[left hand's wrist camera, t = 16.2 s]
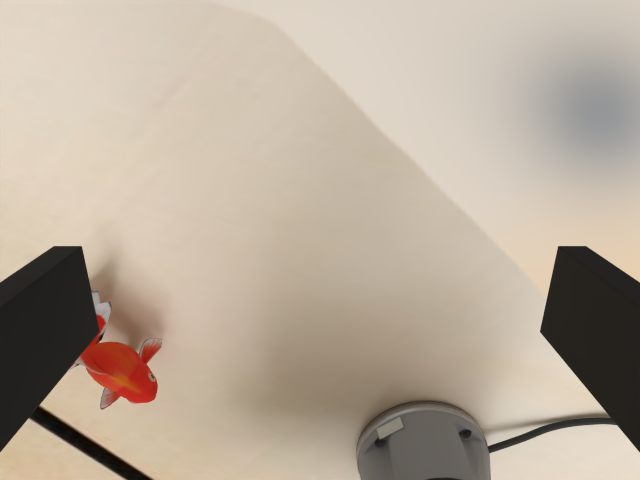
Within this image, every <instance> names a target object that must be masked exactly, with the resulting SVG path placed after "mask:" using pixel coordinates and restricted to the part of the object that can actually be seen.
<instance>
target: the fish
mask: <svg viewBox="0 0 640 480" xmlns="http://www.w3.org/2000/svg"><path fill="white" fill-rule="evenodd" d="M91 292H92V297H93V302H94V306H95V311H96V316H97V320H98V325H99V330H100V332H99V334H98V335H97V336H96V337H95V338H94V340H93V341H92V342H91V343H90V344H89V346H88V347H87V348H86V349H85V350H84V352H83V353H82V354H81V355H80V357H79V358H78V359H77V360H76V361H75V363H74V364H73V365H72V366H71V367H70V369H69V370H71V369H72V368H74V367H76V366H78V365H79V364H80V365H83V366H85V367H86V369H87V371H88V373H89V374H90V375H91V376H92V378H93V379H94V380H95V381H96V382H98V383H99V384H100V385H102V386H103V387H105V389H104V391H103V394H102V397H101V404H100V407H101V409H104V408H106V407H108V406H110V405H111V404H112V403H113V402H115V401H116V400H117V399H118V398H119V397H120V396H122V397H124V398H127V399H128V401H129V402H131V403H133V404H136V403H148V402H150V401H152V400H154V399H155V397H156V393H157V387H158V385H157V380H156V378H155V376H154V375H153V373H152V372H151V370H150V369H149V367H148V366H147V363H148V361H149V360H150V359H151V358H152V357H153V356H154V355H155V354H156V352H157V351H158V350H159V349H160V348H161V344H162V340H161V339H148V340H146V341H145V342H144V344H143V345H142V347H141V350H140V353H139V354H138V353H137V352H136V351H135V350H133V349H132V348H131V347H129V346H127V345H125V344H122V343H118V342H104V343H99V341H101V340H102V337H103V335H104V332H105V329H106V326H107V323H108V320H109V317H110V312H111V304H110V302H106V303H100V299H99V292H96V291H91ZM69 370H68V371H69Z"/></svg>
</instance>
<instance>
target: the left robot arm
mask: <svg viewBox="0 0 640 480" xmlns="http://www.w3.org/2000/svg"><path fill="white" fill-rule="evenodd" d="M99 332H100V330H99V325H98V320H97V316H96V311H95V306H94V302H93V297H92V292H91V288H90V283H89V278H88V273H87V269H86V264H85V259H84V255H83V250H82V246H54V247H52V248H51V249H49V250H48V251H46V252H45V253H43V254H42V255H40V256H39V257H37V258H36V259H34V260H33V261H31V262H30V263H28V264H27V265H25V266H24V267H23V268H21V269H20V270H18V271H17V272H15V273H14V274H12V275H11V276H9V277H8V278H6V279H5V280H3V281H2V282H0V452H1V451H2V449H3V448H4V447H5V446H6V445H7V443H8V442H9V441H10V440H11V439H12V437H13V436H14V435H15V434H16V433H17V431H18V430H19V429H20V428H21V427H22V425H23V424H24V423H25V422H26V421H27V419H28V418H29V417H30V416H31V414H32V413H33V412H34V411H35V410H36V408H37V407H38V406H39V405H40V404H41V402H42V401H43V400H44V399H45V398H46V396H47V395H48V394H49V393H50V392H51V390H52V389H53V388H54V387H55V385H56V384H57V383H58V382H59V381H60V379H61V378H62V377H63V376H64V375H65V373H66V372H67V371H68V370H69V369H70V367H71V366H72V365H73V364H74V363H75V361H76V360H77V359H78V358H79V357H80V355H81V354H82V353H83V352H84V350H85V349H86V348H87V347H88V346H89V344H90V343H91V342H92V341H93V340H94V338H95V337H96V336H97V335H98V334H99ZM540 332H541V334H542V335H543V336H544V337H545V338H546V340H547V341H548V342H549V343H550V344H551V346H552V347H553V348H554V349H555V350H556V352H557V353H558V354H559V355H560V357H561V358H562V359H563V360H564V361H565V363H566V364H567V365H568V366H569V367H570V369H571V370H572V371H573V372H574V373H575V375H576V376H577V377H578V378H579V379H580V381H581V382H582V383H583V384H584V385H585V387H586V388H587V389H588V390H589V392H590V393H591V394H592V395H593V396H594V398H595V399H596V400H597V401H598V402H599V404H600V405H601V406H602V407H603V408H604V410H605V411H606V412H607V413H608V414H609V416H610V417H611V418H583V419H573V420H567V421H561V422H556V423H552V424H548V425H545V426H542V427H540V428H537V429H535V430H532V431H530V432H527V433H525V434H522V435H520V436H517V437H514V438H511V439H508V440H505V441H502V442H499V443H496V444H493V445H490V446H487V443H486V440H485V438H484V435H483V433H482V431H481V429H480V427H479V425H478V424H477V423H476V421H475V420H474V419H473V418H472V417H471V416H470V415H468V414H467V413H466V412H464V411H462V410H461V409H459V408H457V407H454V406H452V405H449V404H445V403H440V402H433V401H419V402H411V403H406V404H402V405H399V406H396V407H394V408H391V409H389V410H387V411H385V412H384V413H382V414H380V415H379V416H378V417H376V418H375V419H374V420H373V421H372V422H371V423H370V424H369V425H368V426H367V427H366V429H365V430H364V431H363V433H362V435H361V437H360V439H359V442H358V446H357V463H358V471H359V474H360V478H361V480H491V474H490V455H489V453H492V452H495V451H498V450H501V449H504V448H507V447H510V446H512V445H515V444H518V443H521V442H524V441H526V440H529V439H531V438H534V437H536V436H539V435H541V434H544V433H546V432H549V431H553V430H557V429H561V428H566V427H572V426H580V425H594V424H612V425H618V427H619V428H620V429H621V430H622V431H623V433H624V434H625V435H626V436H627V437H628V439H629V440H630V441H631V442H632V443H633V445H634V446H635V447H636V448H637V449H638V451H639V452H640V282H638V281H637V280H635V279H634V278H632V277H631V276H629V275H628V274H626V273H625V272H623V271H622V270H620V269H619V268H617V267H616V266H614V265H613V264H612V263H610V262H609V261H607V260H606V259H604V258H603V257H601V256H600V255H598V254H597V253H595V252H594V251H592V250H591V249H589V248H588V247H586V246H558V250H557V255H556V259H555V264H554V269H553V274H552V278H551V283H550V288H549V292H548V297H547V302H546V306H545V311H544V316H543V320H542V325H541V330H540Z"/></svg>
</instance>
